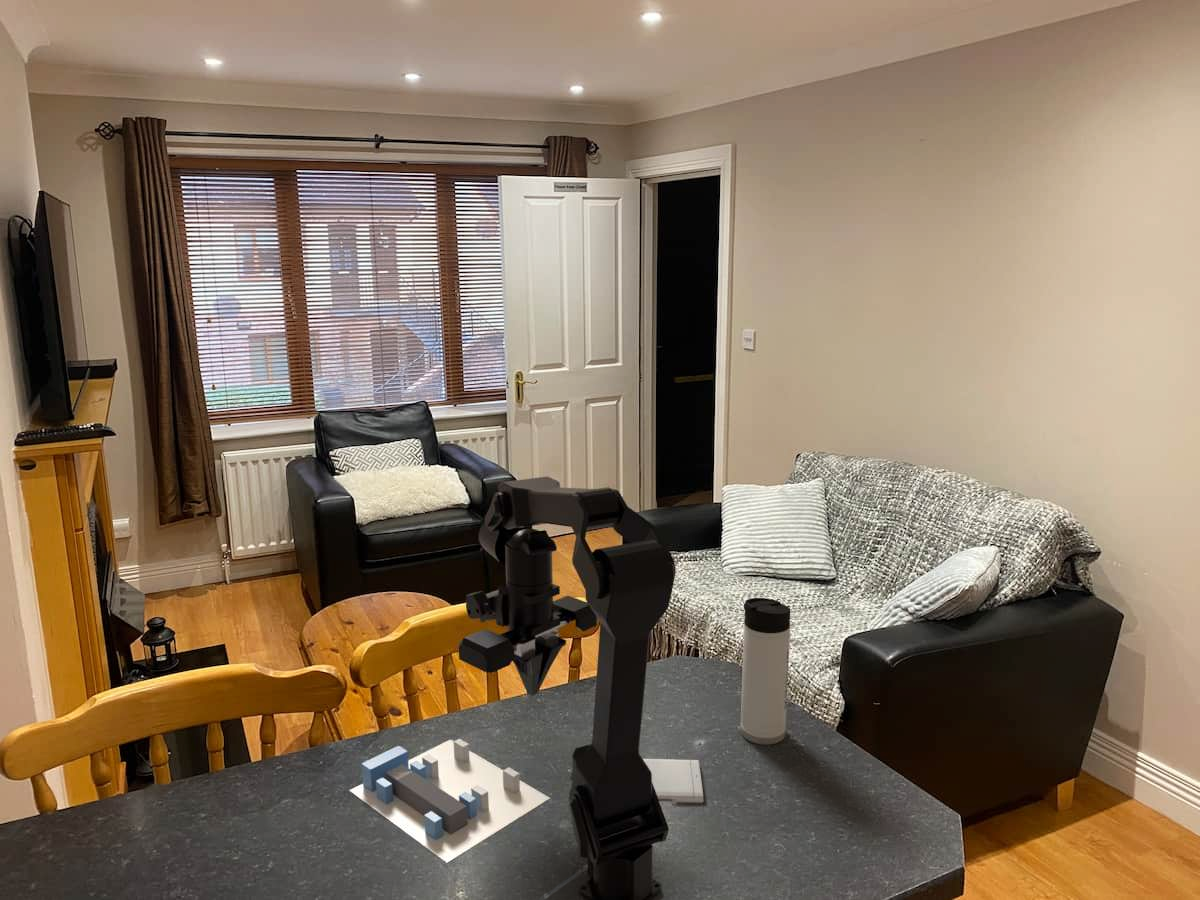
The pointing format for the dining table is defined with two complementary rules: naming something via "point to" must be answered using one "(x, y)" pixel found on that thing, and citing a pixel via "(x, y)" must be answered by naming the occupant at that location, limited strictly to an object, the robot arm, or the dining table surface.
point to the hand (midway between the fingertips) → (532, 693)
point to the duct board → (462, 777)
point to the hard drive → (676, 779)
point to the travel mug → (765, 670)
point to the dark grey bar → (427, 798)
